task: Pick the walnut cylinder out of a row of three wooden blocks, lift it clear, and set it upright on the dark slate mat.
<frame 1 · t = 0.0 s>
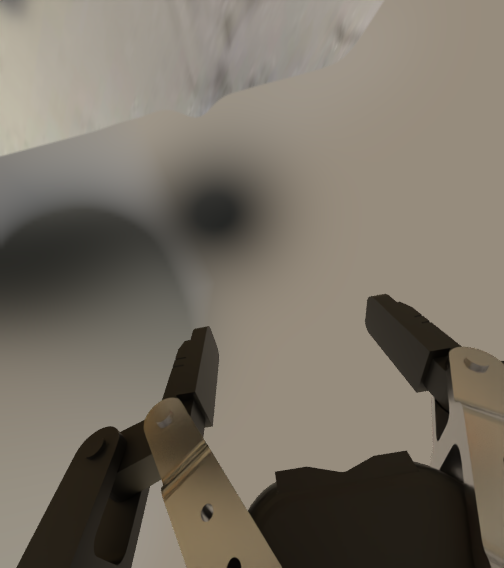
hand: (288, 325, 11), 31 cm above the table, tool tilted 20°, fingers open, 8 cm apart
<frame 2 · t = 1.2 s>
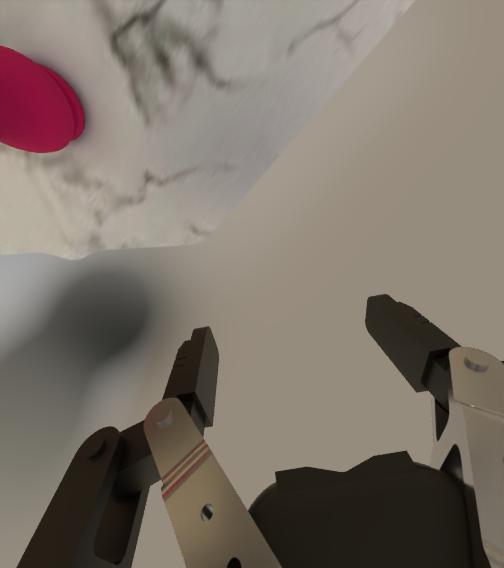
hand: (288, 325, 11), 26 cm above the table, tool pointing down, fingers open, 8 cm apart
pepper mill: (50, 105, 22), on the table
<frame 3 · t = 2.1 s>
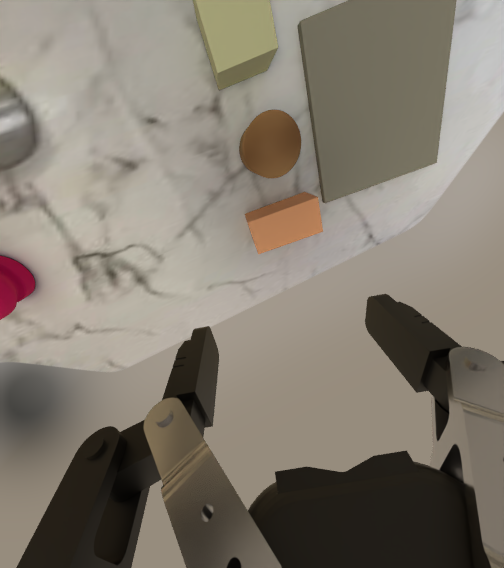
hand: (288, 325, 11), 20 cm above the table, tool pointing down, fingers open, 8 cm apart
terracotta brick: (278, 217, 28), on the table
pepper mill: (8, 275, 28), on the table
sage cube: (233, 45, 19), on the table
walnut cylinder: (260, 149, 24), on the table
slate mat: (374, 105, 23), on the table
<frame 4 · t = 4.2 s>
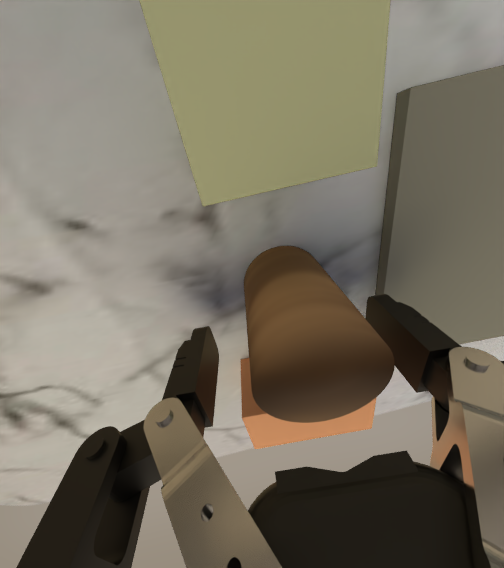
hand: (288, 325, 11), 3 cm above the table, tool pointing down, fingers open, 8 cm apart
terracotta brick: (293, 365, 17), on the table
sage cube: (256, 113, 9), on the table
walnut cylinder: (282, 282, 13), on the table
slate mat: (496, 237, 13), on the table
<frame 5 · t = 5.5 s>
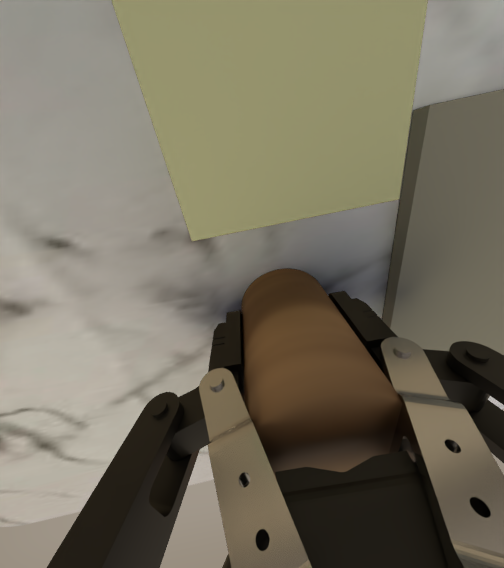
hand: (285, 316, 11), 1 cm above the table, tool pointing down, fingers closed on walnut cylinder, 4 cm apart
sage cube: (257, 128, 8), on the table
walnut cylinder: (283, 306, 12), on the table, touching gripper
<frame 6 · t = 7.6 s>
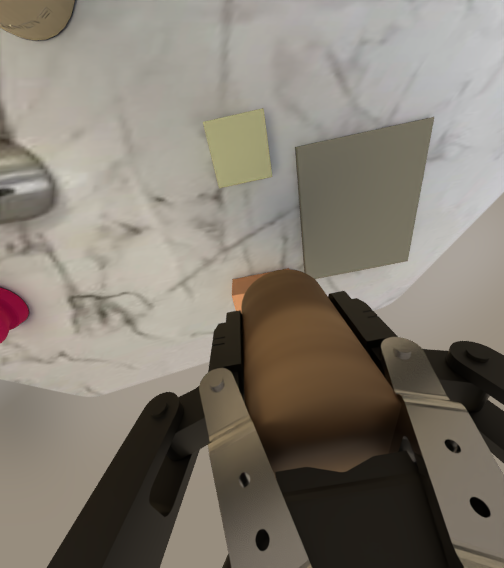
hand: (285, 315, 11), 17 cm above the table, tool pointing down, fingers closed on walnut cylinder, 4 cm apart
terracotta brick: (262, 285, 31), on the table
pepper mill: (4, 304, 30), on the table
sage cube: (239, 154, 23), on the table
walnut cylinder: (282, 307, 12), point 16 cm above the table, touching gripper
slate mat: (356, 210, 26), on the table
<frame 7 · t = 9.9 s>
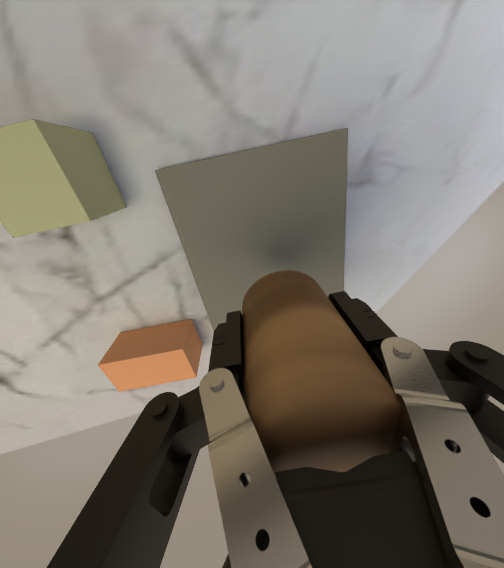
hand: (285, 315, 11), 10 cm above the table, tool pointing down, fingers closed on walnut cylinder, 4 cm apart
terracotta brick: (163, 338, 24), on the table
sage cube: (80, 179, 16), on the table
walnut cylinder: (283, 307, 12), point 9 cm above the table, touching gripper
slate mat: (265, 250, 20), on the table
when the fingers open (3 cm above the table, at t = 11.9 s): walnut cylinder drops 1 cm, resting on slate mat.
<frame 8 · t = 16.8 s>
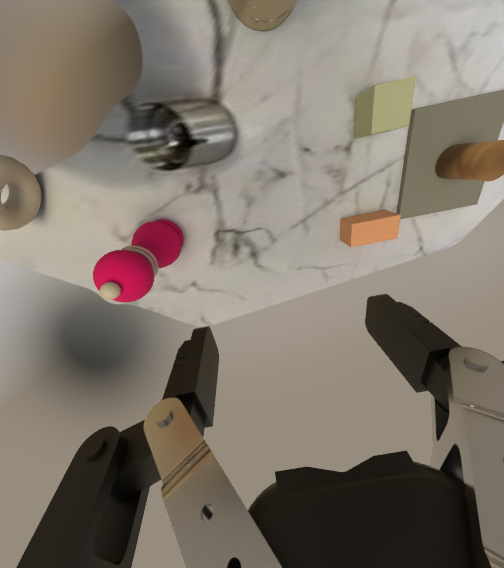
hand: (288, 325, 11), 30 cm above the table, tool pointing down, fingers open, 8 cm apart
terracotta brick: (361, 225, 40), on the table
pepper mill: (166, 236, 38), on the table
sage cube: (371, 115, 32), on the table
donut: (36, 190, 34), on the table
walnut cylinder: (450, 161, 34), point 1 cm above the table, touching slate mat
slate mat: (445, 161, 35), on the table
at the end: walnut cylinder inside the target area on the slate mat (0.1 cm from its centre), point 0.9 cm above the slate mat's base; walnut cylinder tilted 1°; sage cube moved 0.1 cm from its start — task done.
